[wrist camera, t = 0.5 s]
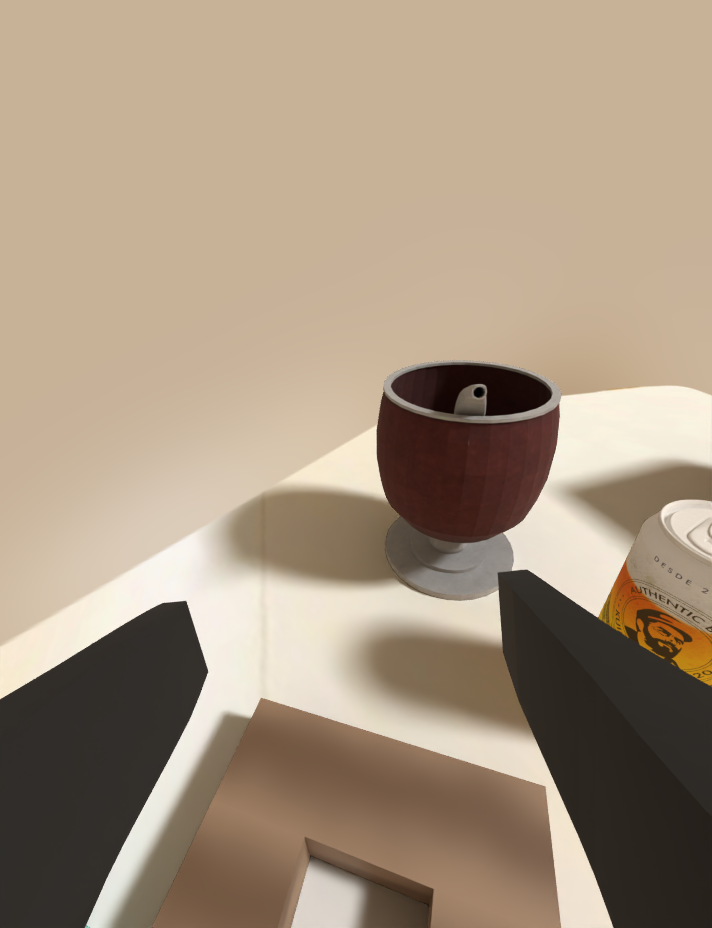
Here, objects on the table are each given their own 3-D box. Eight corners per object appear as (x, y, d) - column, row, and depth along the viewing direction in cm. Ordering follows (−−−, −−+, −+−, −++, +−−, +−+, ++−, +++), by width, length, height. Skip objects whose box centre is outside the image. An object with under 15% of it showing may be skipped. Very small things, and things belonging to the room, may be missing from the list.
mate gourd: (387, 500, 44) (390, 324, 34) (511, 513, 41) (554, 326, 31) (361, 610, 31) (352, 381, 21) (538, 639, 29) (627, 391, 18)
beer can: (551, 699, 25) (629, 530, 17) (592, 645, 28) (674, 480, 20) (657, 789, 21) (824, 619, 13) (691, 713, 24) (842, 539, 16)
